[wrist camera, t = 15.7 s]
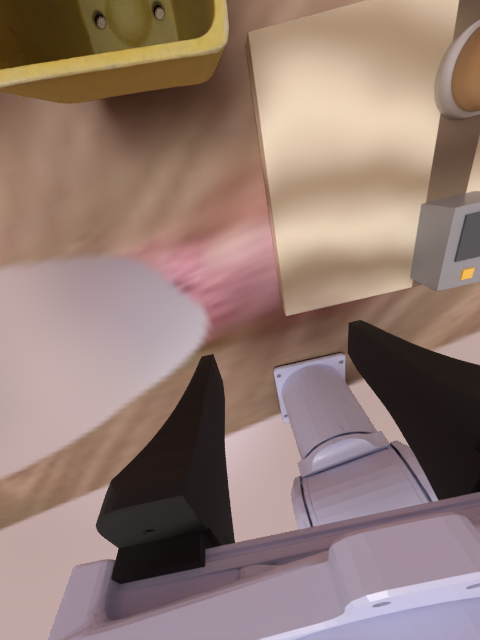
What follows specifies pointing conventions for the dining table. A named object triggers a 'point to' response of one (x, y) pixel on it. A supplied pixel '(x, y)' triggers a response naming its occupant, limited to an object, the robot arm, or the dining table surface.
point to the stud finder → (448, 242)
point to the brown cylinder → (460, 76)
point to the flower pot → (107, 46)
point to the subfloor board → (356, 142)
